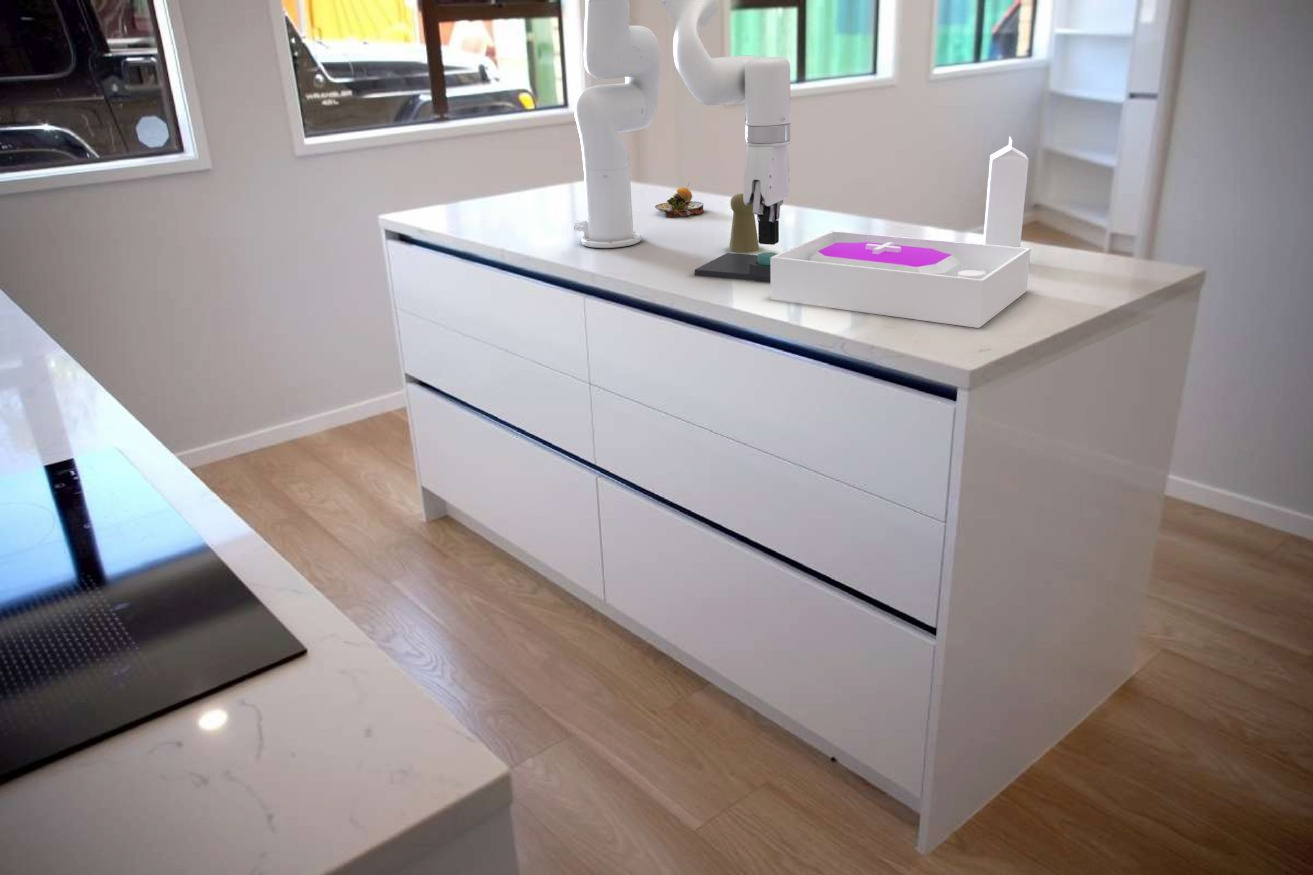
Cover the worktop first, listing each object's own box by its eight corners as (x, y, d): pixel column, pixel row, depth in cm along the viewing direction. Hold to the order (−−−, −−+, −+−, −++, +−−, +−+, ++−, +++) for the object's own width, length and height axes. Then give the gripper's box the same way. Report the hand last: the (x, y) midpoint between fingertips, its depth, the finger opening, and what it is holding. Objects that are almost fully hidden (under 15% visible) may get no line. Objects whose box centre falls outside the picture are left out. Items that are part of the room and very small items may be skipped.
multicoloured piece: (673, 206, 246) (672, 176, 243) (713, 210, 240) (713, 178, 237) (644, 215, 237) (643, 183, 235) (685, 219, 231) (684, 186, 228)
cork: (757, 253, 196) (757, 196, 192) (727, 253, 198) (726, 197, 193) (760, 246, 202) (760, 191, 197) (731, 246, 203) (730, 191, 199)
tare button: (754, 265, 176) (754, 256, 176) (762, 261, 179) (762, 251, 179) (773, 267, 175) (773, 257, 174) (781, 262, 178) (781, 253, 177)
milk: (982, 268, 178) (992, 141, 169) (981, 260, 183) (990, 136, 174) (1019, 269, 176) (1030, 140, 167) (1016, 260, 181) (1027, 135, 173)
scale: (692, 277, 182) (692, 260, 180) (727, 258, 193) (726, 243, 192) (777, 284, 174) (777, 267, 173) (808, 265, 186) (808, 249, 184)
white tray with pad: (978, 328, 146) (983, 279, 143) (770, 299, 165) (770, 256, 162) (1026, 291, 162) (1030, 247, 160) (831, 269, 182) (832, 229, 179)
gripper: (764, 130, 176) (765, 233, 183) (728, 140, 164) (731, 251, 171) (805, 130, 172) (804, 236, 180) (771, 141, 160) (771, 254, 168)
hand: (768, 243), depth 175 cm, fingers closed
